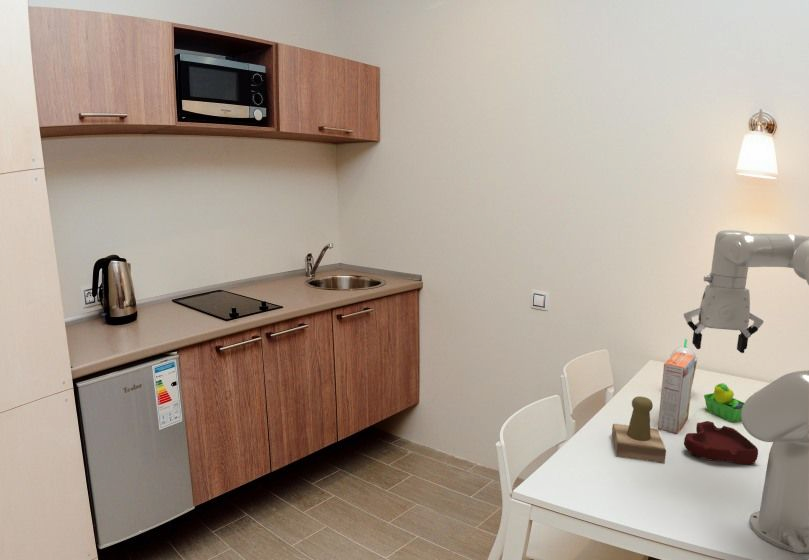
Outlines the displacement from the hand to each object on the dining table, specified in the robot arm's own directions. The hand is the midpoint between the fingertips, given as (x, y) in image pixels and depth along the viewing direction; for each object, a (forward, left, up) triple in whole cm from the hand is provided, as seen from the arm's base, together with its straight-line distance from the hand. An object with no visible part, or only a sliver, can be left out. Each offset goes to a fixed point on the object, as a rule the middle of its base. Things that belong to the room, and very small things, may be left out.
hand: (718, 349), depth 134 cm
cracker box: (+26, +2, -32) cm, 42 cm away
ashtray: (+10, -7, -33) cm, 35 cm away
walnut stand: (+6, +15, -32) cm, 36 cm away
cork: (+6, +15, -28) cm, 33 cm away
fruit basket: (+37, -15, -33) cm, 52 cm away
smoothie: (+51, -5, -32) cm, 61 cm away
